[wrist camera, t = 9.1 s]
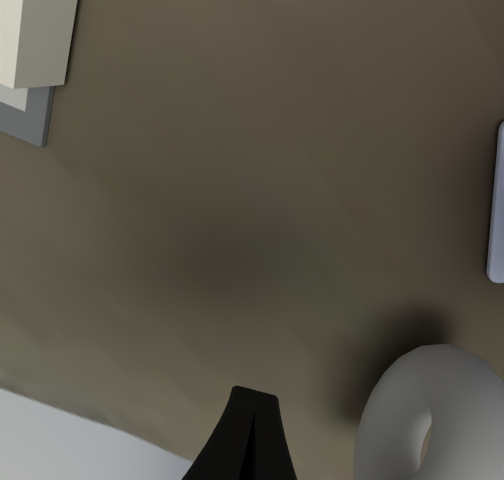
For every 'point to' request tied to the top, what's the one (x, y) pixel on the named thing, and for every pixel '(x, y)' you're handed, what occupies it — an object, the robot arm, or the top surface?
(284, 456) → the robot arm
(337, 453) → the top surface
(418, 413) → the donut
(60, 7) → the card box
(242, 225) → the top surface
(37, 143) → the mat
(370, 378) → the top surface
